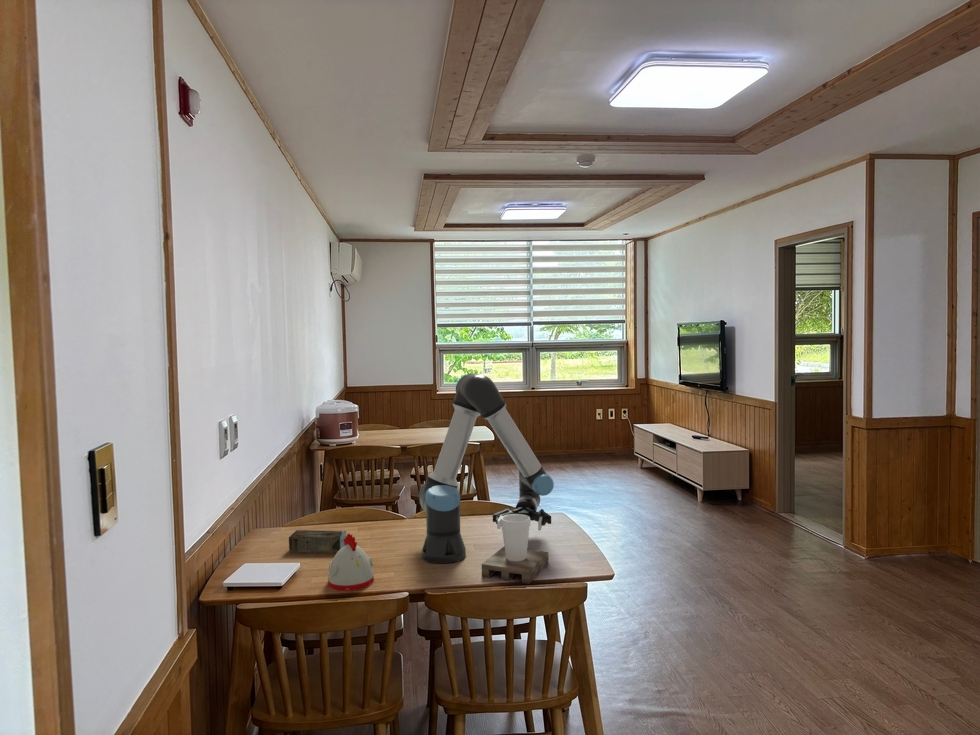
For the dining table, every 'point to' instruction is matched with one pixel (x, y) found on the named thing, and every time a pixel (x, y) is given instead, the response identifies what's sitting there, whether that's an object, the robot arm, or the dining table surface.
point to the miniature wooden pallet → (516, 565)
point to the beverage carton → (316, 541)
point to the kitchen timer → (350, 567)
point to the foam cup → (515, 535)
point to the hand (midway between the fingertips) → (518, 525)
